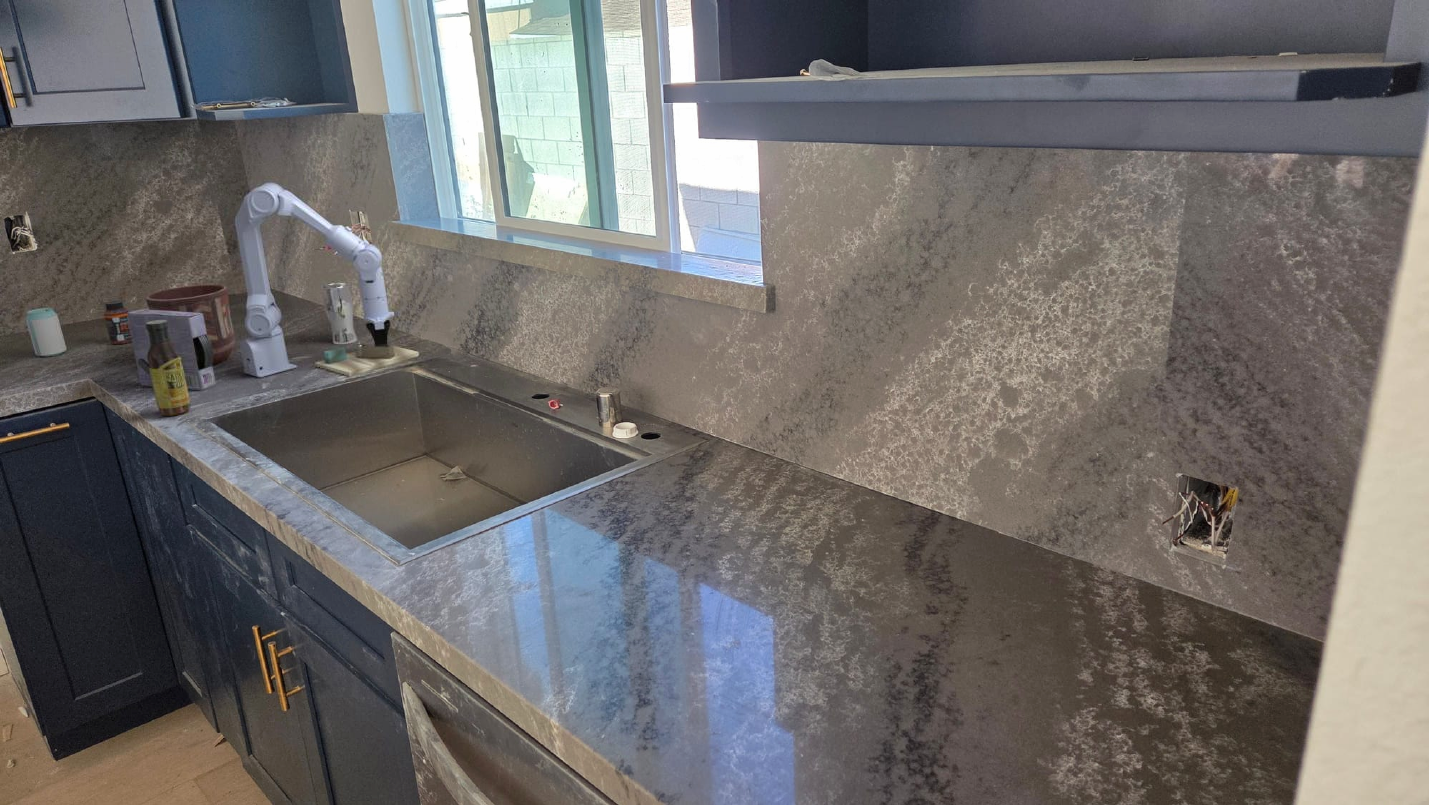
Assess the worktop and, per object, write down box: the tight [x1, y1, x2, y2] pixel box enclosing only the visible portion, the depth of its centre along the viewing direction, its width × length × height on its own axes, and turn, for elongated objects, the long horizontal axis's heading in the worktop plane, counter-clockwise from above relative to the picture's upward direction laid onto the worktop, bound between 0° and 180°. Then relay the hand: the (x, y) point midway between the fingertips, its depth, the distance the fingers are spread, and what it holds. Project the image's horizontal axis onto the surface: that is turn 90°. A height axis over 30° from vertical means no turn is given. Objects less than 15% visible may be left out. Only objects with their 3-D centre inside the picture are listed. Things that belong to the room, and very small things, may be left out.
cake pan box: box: [127, 308, 217, 392], centre depth 230 cm, size 19×5×18 cm, turn 72°
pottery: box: [145, 284, 236, 366], centre depth 249 cm, size 18×18×18 cm
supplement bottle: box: [103, 300, 132, 345], centre depth 273 cm, size 6×6×11 cm
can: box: [25, 307, 67, 357], centre depth 264 cm, size 7×7×12 cm
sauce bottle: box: [146, 320, 191, 417], centre depth 211 cm, size 7×6×20 cm
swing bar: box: [353, 341, 395, 358], centre depth 243 cm, size 10×3×3 cm, turn 76°
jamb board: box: [314, 345, 420, 377], centre depth 244 cm, size 19×15×4 cm
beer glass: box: [321, 282, 358, 345], centre depth 261 cm, size 7×7×15 cm
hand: (382, 351), depth 245 cm, fingers closed, pressing on swing bar
